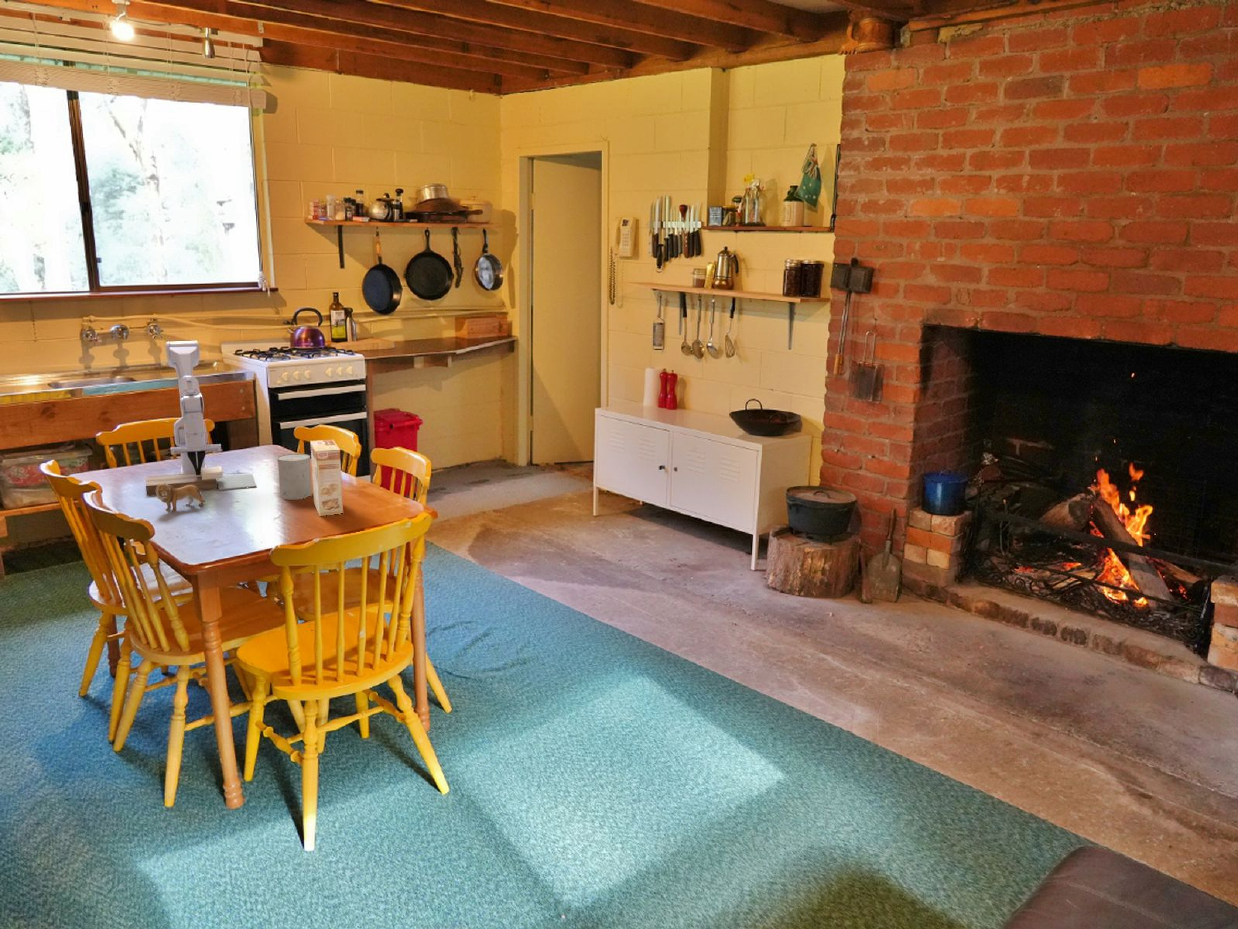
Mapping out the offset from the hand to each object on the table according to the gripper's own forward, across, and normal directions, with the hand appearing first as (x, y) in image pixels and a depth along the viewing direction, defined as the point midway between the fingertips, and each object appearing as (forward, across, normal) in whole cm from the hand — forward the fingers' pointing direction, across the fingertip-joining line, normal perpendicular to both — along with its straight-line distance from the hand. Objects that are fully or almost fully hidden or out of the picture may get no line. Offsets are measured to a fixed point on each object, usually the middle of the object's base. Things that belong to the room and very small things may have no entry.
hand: (198, 474), depth 298 cm
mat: (+4, +11, 0) cm, 12 cm away
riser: (+4, -5, 0) cm, 6 cm away
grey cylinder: (+4, +27, -22) cm, 35 cm away
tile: (+1, +4, 0) cm, 4 cm away
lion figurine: (+4, -6, -25) cm, 26 cm away
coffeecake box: (+4, +34, -40) cm, 53 cm away
